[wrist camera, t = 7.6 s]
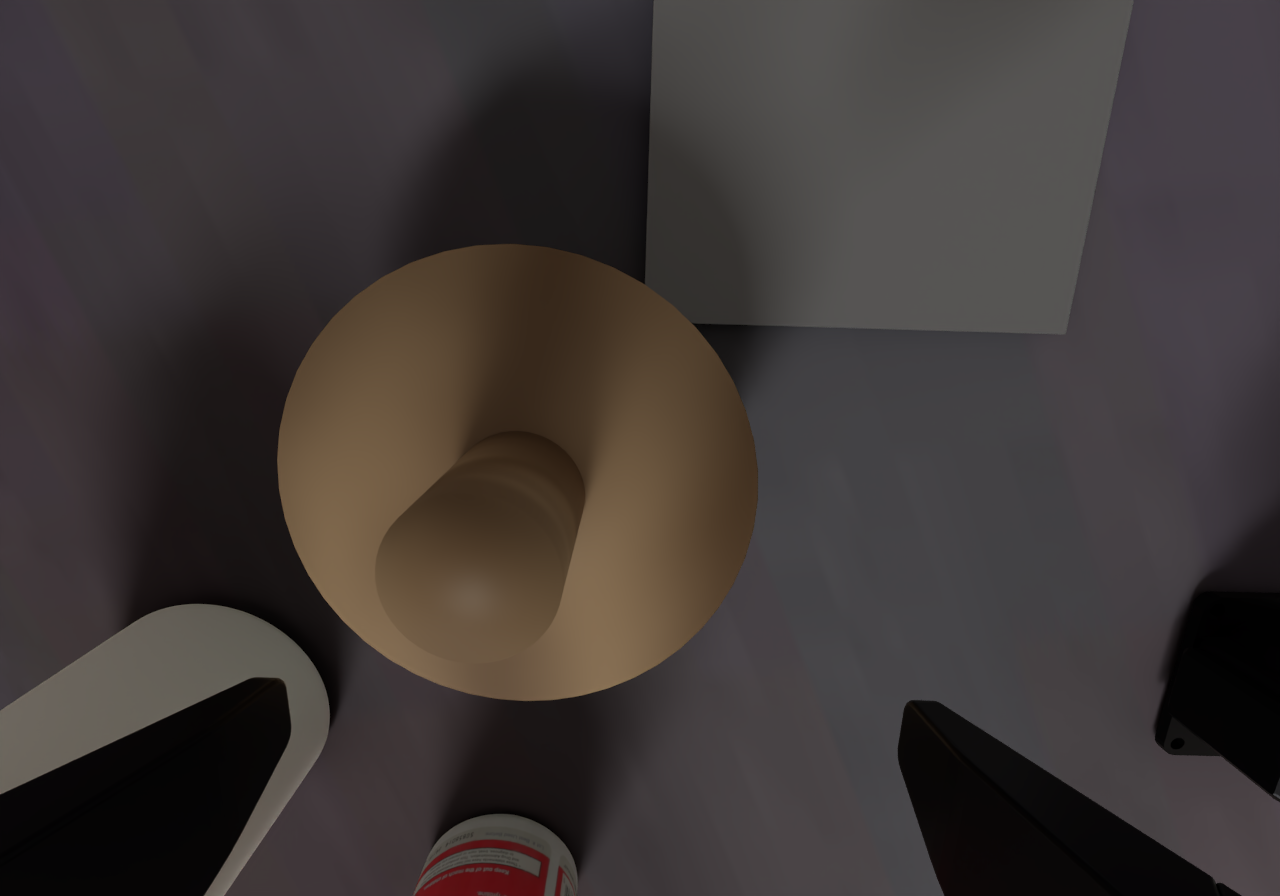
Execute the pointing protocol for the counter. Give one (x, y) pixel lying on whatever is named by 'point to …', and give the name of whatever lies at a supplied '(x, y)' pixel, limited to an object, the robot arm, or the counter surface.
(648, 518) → the lid
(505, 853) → the pill bottle
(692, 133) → the mat
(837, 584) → the counter surface
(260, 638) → the beverage can
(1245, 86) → the counter surface
